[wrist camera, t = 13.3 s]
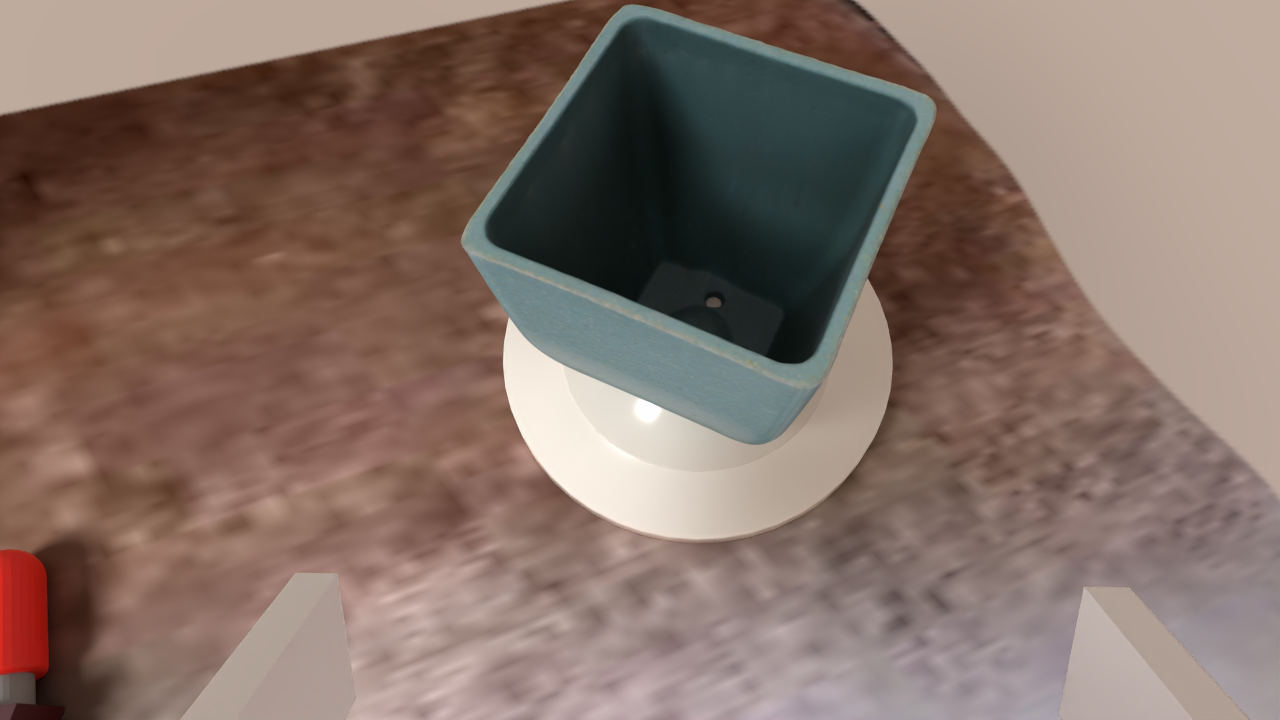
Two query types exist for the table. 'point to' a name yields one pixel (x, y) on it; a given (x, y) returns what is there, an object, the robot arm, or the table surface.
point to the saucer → (698, 442)
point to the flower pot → (699, 218)
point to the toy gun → (23, 637)
